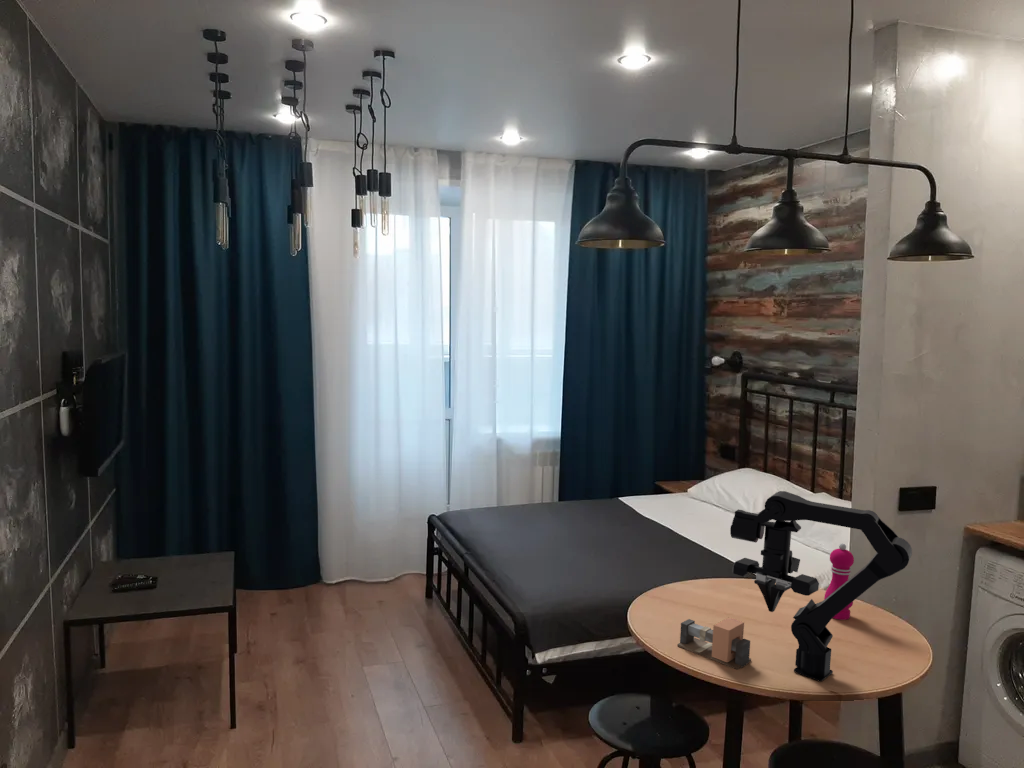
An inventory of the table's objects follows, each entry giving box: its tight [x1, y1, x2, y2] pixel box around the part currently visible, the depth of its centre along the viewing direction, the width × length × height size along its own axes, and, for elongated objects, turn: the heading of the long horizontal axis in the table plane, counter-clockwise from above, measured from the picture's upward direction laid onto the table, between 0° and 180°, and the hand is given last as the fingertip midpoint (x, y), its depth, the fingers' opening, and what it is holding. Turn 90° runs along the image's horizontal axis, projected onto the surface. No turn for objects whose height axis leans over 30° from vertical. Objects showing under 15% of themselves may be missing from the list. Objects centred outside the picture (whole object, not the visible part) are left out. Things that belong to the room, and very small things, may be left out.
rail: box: [677, 618, 752, 670], centre depth 184 cm, size 16×6×5 cm, turn 45°
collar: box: [711, 616, 745, 662], centre depth 181 cm, size 4×7×8 cm, turn 135°
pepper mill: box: [823, 543, 855, 621], centre depth 208 cm, size 7×7×20 cm
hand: (771, 611), depth 180 cm, fingers closed
